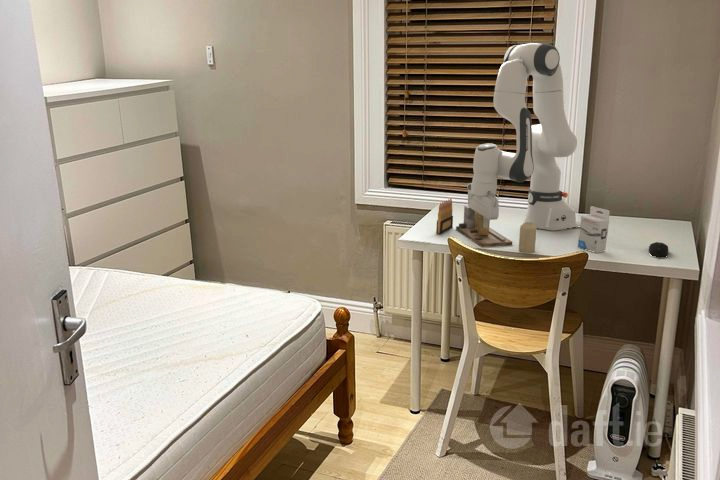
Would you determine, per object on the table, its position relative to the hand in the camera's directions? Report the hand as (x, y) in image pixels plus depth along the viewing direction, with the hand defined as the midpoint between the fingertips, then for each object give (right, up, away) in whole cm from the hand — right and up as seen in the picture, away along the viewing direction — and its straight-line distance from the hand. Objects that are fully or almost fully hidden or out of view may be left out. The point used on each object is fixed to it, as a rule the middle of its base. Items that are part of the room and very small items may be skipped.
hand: (481, 225), depth 254 cm
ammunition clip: (-13, -2, +10) cm, 16 cm away
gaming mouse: (+58, -11, -16) cm, 61 cm away
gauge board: (+1, -4, +2) cm, 5 cm away
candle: (+13, -9, -14) cm, 21 cm away
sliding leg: (-1, -3, +1) cm, 3 cm away
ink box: (+37, -9, -12) cm, 39 cm away
